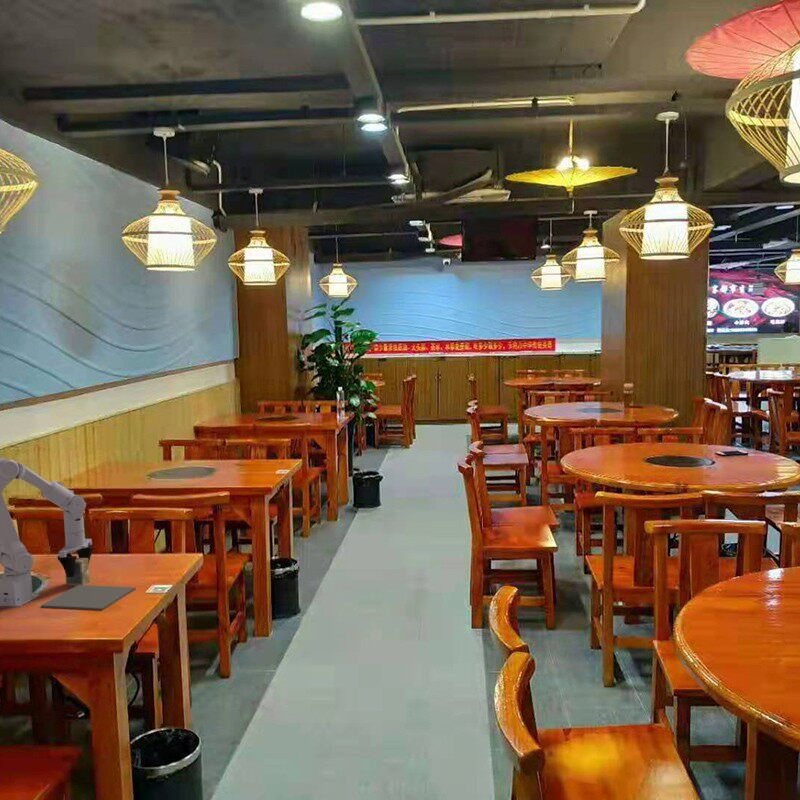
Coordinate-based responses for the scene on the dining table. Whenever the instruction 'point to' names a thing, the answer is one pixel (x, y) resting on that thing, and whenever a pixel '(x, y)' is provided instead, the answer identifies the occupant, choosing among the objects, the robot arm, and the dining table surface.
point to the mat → (89, 597)
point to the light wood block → (79, 573)
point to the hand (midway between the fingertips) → (77, 572)
